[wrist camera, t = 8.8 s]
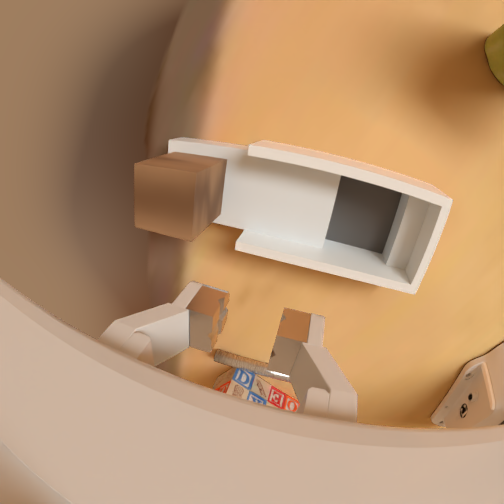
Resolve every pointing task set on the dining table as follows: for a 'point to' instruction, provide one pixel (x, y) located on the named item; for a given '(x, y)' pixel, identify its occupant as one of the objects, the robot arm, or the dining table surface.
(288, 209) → the channel
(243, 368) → the steel rod
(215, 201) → the walnut block
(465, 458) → the robot arm
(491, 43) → the plant pot
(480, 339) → the dining table surface
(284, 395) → the stack of blocks
